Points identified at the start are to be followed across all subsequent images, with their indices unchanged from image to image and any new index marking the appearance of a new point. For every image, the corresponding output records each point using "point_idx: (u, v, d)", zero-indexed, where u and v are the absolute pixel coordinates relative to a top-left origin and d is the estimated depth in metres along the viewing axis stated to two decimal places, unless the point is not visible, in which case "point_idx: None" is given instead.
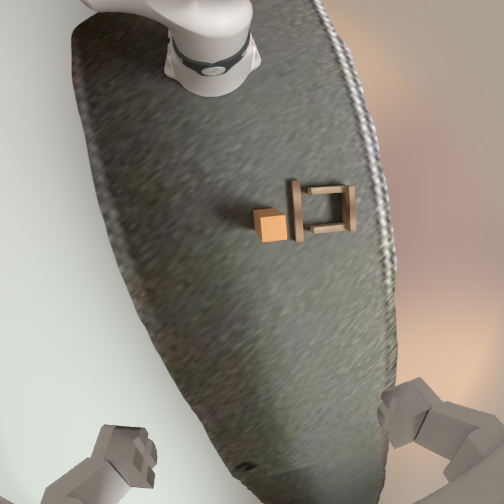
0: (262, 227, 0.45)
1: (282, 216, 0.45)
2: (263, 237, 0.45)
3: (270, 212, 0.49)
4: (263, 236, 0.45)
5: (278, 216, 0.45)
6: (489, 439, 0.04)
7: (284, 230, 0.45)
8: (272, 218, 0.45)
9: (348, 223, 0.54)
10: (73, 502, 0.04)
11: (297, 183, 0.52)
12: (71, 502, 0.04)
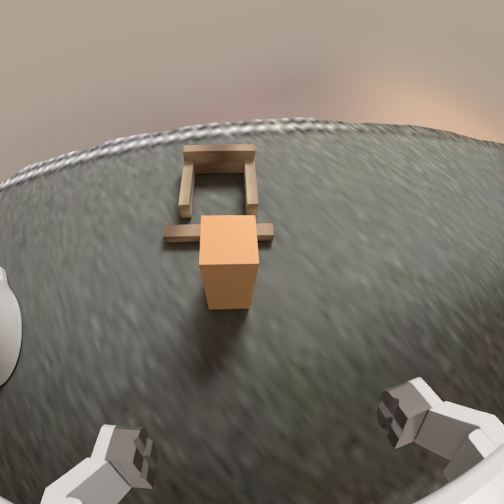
0: (224, 261, 0.19)
1: (203, 220, 0.20)
2: (247, 261, 0.19)
3: None
4: (245, 260, 0.19)
5: (202, 228, 0.20)
6: (489, 439, 0.04)
7: (234, 218, 0.21)
8: (204, 240, 0.20)
9: (242, 157, 0.34)
10: (73, 502, 0.04)
11: (169, 228, 0.30)
12: (71, 502, 0.04)
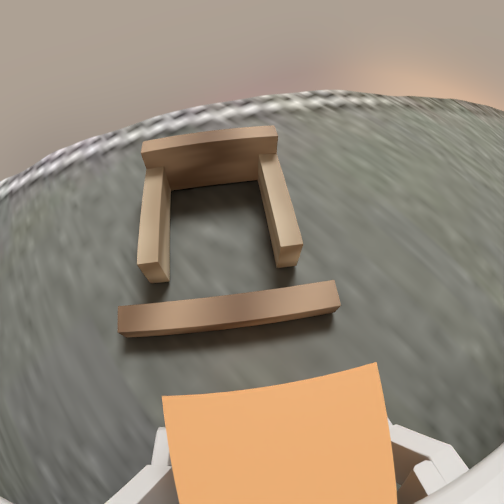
0: None
1: (175, 420, 0.04)
2: None
3: None
4: None
5: (177, 452, 0.04)
6: (438, 474, 0.04)
7: (303, 397, 0.04)
8: (194, 501, 0.03)
9: (254, 150, 0.18)
10: None
11: (127, 314, 0.14)
12: None
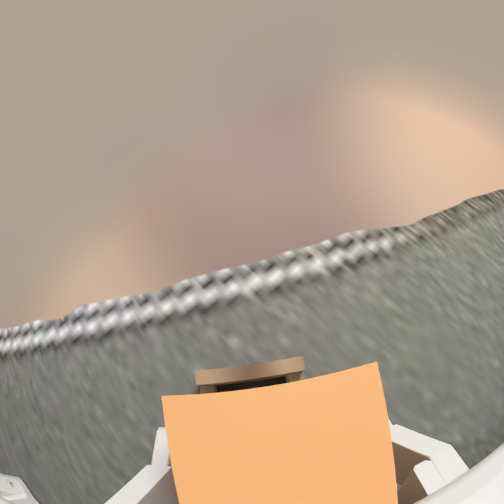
0: None
1: (175, 420, 0.04)
2: None
3: None
4: None
5: (177, 452, 0.04)
6: (438, 473, 0.04)
7: (304, 396, 0.04)
8: (194, 501, 0.03)
9: (285, 374, 0.22)
10: None
11: None
12: None
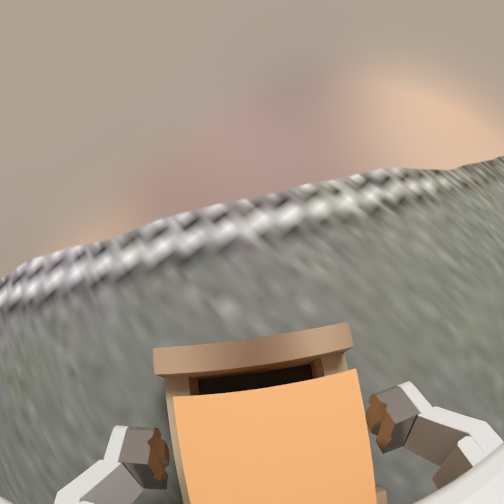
0: None
1: (184, 417, 0.05)
2: None
3: None
4: None
5: (186, 443, 0.05)
6: (479, 447, 0.04)
7: (292, 397, 0.05)
8: (200, 486, 0.04)
9: (317, 357, 0.12)
10: None
11: None
12: None
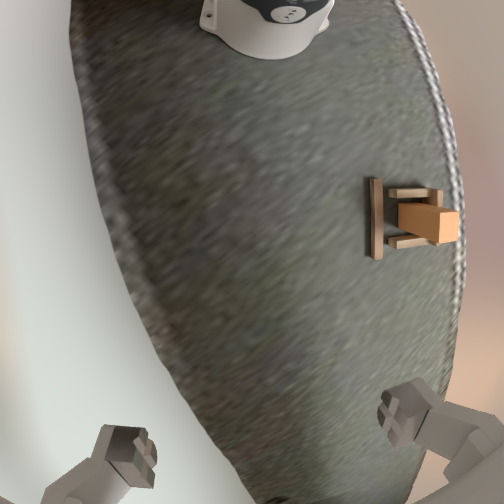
0: (440, 225, 0.30)
1: (456, 213, 0.30)
2: (440, 237, 0.31)
3: (431, 207, 0.34)
4: (440, 236, 0.30)
5: (453, 212, 0.30)
6: (489, 439, 0.04)
7: (456, 229, 0.31)
8: (449, 214, 0.30)
9: None
10: (73, 502, 0.04)
11: (379, 182, 0.37)
12: (71, 502, 0.04)
